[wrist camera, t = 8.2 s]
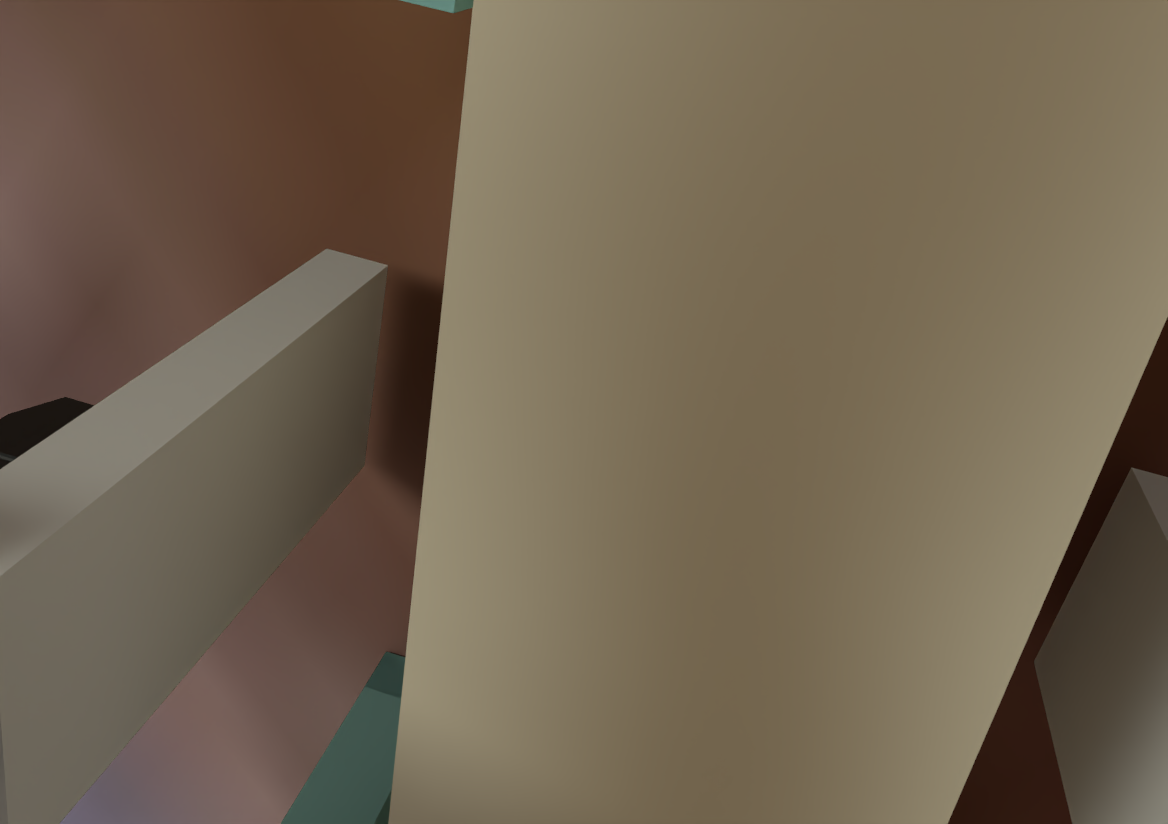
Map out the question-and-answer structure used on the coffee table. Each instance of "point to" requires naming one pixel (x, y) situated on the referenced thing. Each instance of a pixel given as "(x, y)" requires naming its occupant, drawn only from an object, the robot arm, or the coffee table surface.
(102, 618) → the robot arm
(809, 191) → the beige long bar
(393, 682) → the cap
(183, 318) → the coffee table surface
